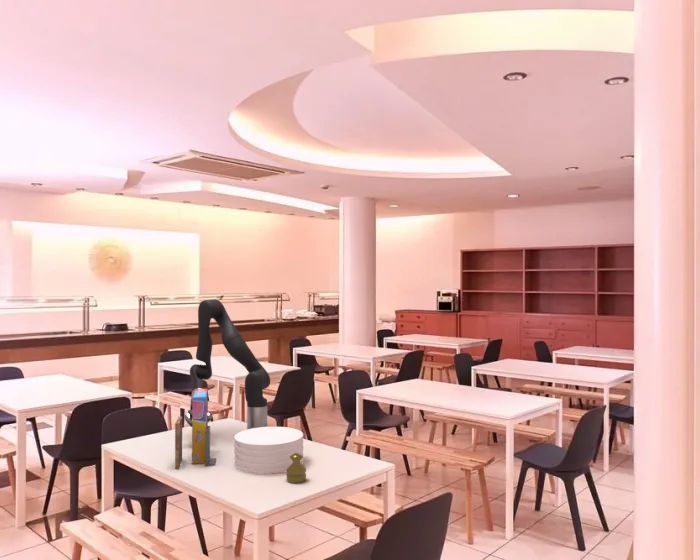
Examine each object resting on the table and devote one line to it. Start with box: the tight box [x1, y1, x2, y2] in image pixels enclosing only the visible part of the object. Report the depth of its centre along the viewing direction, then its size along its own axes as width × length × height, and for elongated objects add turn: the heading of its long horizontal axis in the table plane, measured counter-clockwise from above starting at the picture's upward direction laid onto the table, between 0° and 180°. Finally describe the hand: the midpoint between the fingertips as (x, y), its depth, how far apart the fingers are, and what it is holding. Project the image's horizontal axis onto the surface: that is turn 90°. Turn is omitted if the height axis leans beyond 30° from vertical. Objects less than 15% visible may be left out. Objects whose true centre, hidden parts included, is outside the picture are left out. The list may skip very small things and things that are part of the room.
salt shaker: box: [286, 453, 307, 484], centre depth 208 cm, size 7×7×10 cm
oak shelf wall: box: [174, 416, 183, 470], centre depth 227 cm, size 2×12×18 cm, turn 11°
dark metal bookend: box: [204, 425, 217, 467], centre depth 229 cm, size 4×8×14 cm, turn 11°
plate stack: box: [233, 426, 304, 475], centre depth 229 cm, size 28×28×12 cm
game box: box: [191, 389, 209, 465], centre depth 237 cm, size 21×6×27 cm, turn 12°
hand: (197, 433), depth 248 cm, fingers closed
